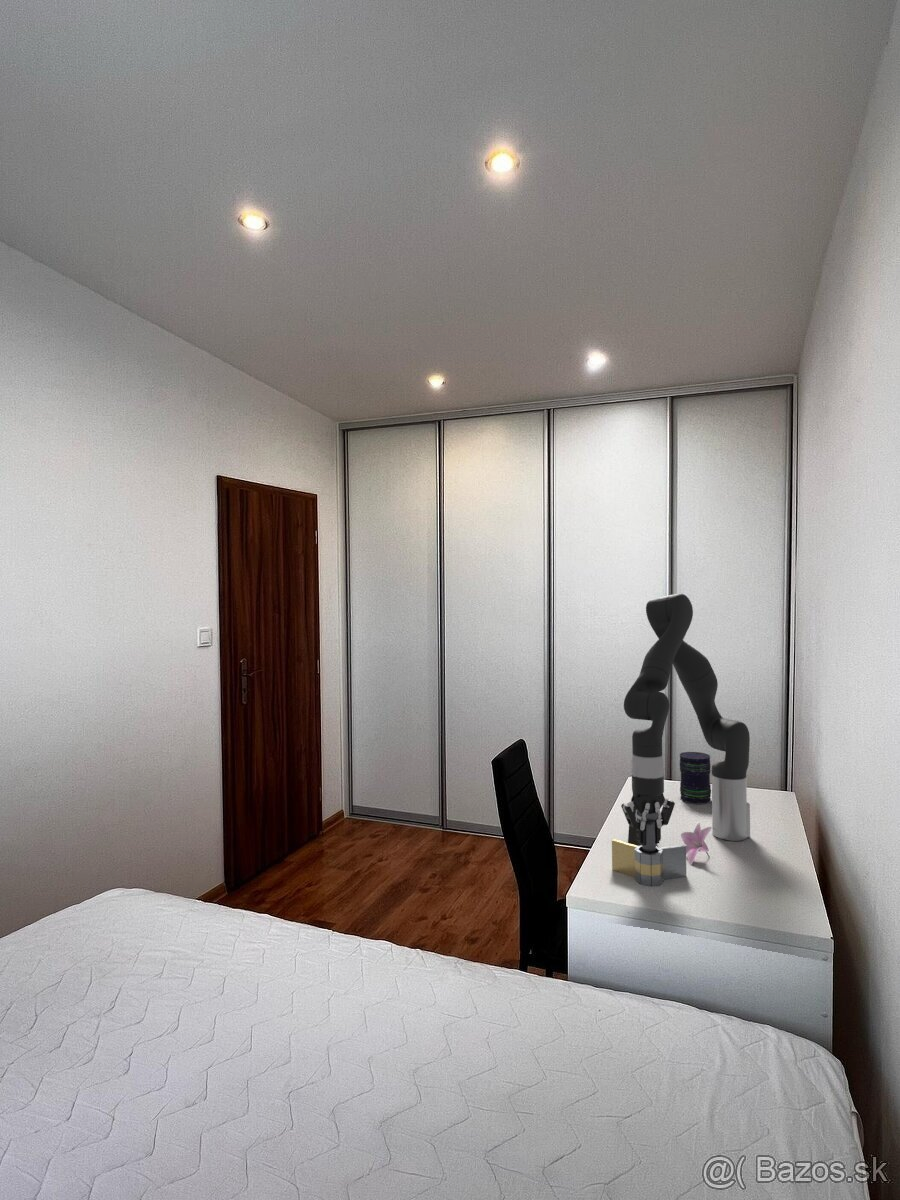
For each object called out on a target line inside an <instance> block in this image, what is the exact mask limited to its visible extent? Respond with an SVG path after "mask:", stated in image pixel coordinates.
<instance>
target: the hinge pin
mask: <svg viewBox="0 0 900 1200" xmlns="http://www.w3.org/2000/svg"><path fill="white" fill-rule="evenodd" d="M638 815H639V816H641V817H642V814H640V813H639V812H638ZM658 815H659V814H658V813H655V812H651V813H648V814H646V816H645V817H646V820H647V821H646V823H645V829H644V830H645V841H646V844H645V845H643V846H642V852H643V853H649V854H652V853H656V846H657V844H656V832H655V820H657V819H658Z"/></svg>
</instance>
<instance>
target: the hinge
mask: <svg viewBox="0 0 900 1200" xmlns="http://www.w3.org/2000/svg"><path fill="white" fill-rule="evenodd" d="M686 846H687V845H685V844H678V845H670V846H669V845H668V846H662V847H658V846H657V845H656V853H652V854H649V853H643V852H642V845H640V846H636V845H633V844H629V843H628V842H625V841H622V840H618V839H615V838H614V839H612V840H611V868H612V871H616V872H619V873H622V874H624V875H626V876H627V875H628V876H631V877H634V880H635V881H636V882H637V883H638V884H640V885H642V886H648V887H657V886H662V884H663V882H664V880H669V879H676V878H677V879H678V878H683V877H687V854H686Z"/></svg>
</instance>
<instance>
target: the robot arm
mask: <svg viewBox="0 0 900 1200" xmlns="http://www.w3.org/2000/svg"><path fill="white" fill-rule="evenodd" d="M645 615H646V617H647V620H648V623H649V625H650V627H651V628H652V631H654V634H655V635H656V636H657V638H658V640H657V641H656V642H655V643H654V644H653V645H652V646H651V647H650V648H649V650H648V651H647V653H646V654H645V656H644V658H643V661H642V665H641V669H640V673H639V675H638V677H637V678H636V679H635V681H634V682H633V684H632V685H631V687H630V688H629V689H628V691H627V693H626V694H625V697H624V701H623V710H624V713H625V714H626V716H627V717H629V718H630V719H632V720H633V719H634V720H643V721H652V723H651V726H650V727H645V728H644V727H643V728H638V729H636V730H634V731H633V732H632V737H631V738H632V739H631V741H632V742H631V744H632V745H631V746H632V748H631V749H632V757H631V791H632V796H631V799H630V801H629V802H628V803H622V804H621V806H620V807H621V810H622V812H623V815H624V817H625V819H626V822H627V824H628V826H629V825H630V826H632V827H633V828H634V829H636V839H637V841H638V842H639V844H641V845H642V846H643V845H645V844H646V841H645V830H644V829H645V823H646V821H647V820H646V817H645V816H646V814H648V813H651V812H655V813H658V814H659V815H658V819H657V820H655V832H656V845H657V844H660V842H661V840H662V827H664V826H667V825H669V822H670V819H671V816H672V814H673V810H674V808H675V804H676V803H675V802H674V801H673V800H671V799H669V798H665V796H664V792H665V777H664V776H665V775H664V774H665V773H664V771H665V770H664V769H665V768H664V765H665V764H664V758H663V735H664V731H665V725H666V722H667V718H668V715H669V711H670V706H671V705H670V701H669V698H668V696H667V695H666V693H664V692H663V691H664V690H666V687H668V685H669V679H670V675H671V671H672V668H673V667H674V669H675V672H676V675H677V676H678V679H679V681H680V684H681V685H682V687H683V689H684V691H685V693H686V695H687V696H688V699H689V701H690V703H691V705H692V707H693V710H694V712H695V714H696V717H697V720H698V722H699V726H700V728H701V729H700V730H701V733H702V734H703V737H704V740H705V741H706V743H707V744H708V746H709V747H711V748H712V749H714V750H718V751H721V752H725V753H724V760H723V761H718V762H714V763H713V764H711V808H712V809H711V811H712V812H711V813H712V814H711V819H712V820H711V821H712V824H711V827H712V829H711V831H712V835H713V836H714V837H716V838H718V839H720V840H721V839H722V840H726V841H732V842H733V841H735V842H739V841H745V840H746V839H747V838H750V837H751V807H750V806H751V804H750V803H749V802H747V801H748V798H747V796H748V795H747V790H748V789H747V771H748V768H749V765H750V764H749V763H750V743H751V742H750V740H751V739H750V730H749V727H747V724H746V723H744V722H742V721H739V720H734V719H729V718H724V717H723V716H722V715H721V714H720V712H719V710H718V708H717V704H716V701H715V700H716V695H717V690H718V685H719V684H718V679H717V675H716V673H715V671H714V669H713V666H712V664H711V662H710V661H709V659H708V658H707V657H706V656H705V655H704V654H703V653H702V652H700V651H699V650H697V649H696V648H694V647H693V646H691V644H689V643H688V642H686V641H685V640H684V639H685V636H686V634H687V632H688V630H689V628H690V626H691V623H692V621H693V618H694V617H693V616H694V609H693V605H692V602H691V600H690V598H689V597H688V596H687V595H686V594H684V593H675V594H670V595H665V596H660V597H654V598H652V599H649V600H648V601H647V603H646V605H645ZM633 807H635V808H636V814H635V817H636V820H635V817H634V815H633V811H634V810H633ZM638 812H639V813H640V814H642V817H641V816H639V815H638Z"/></svg>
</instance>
